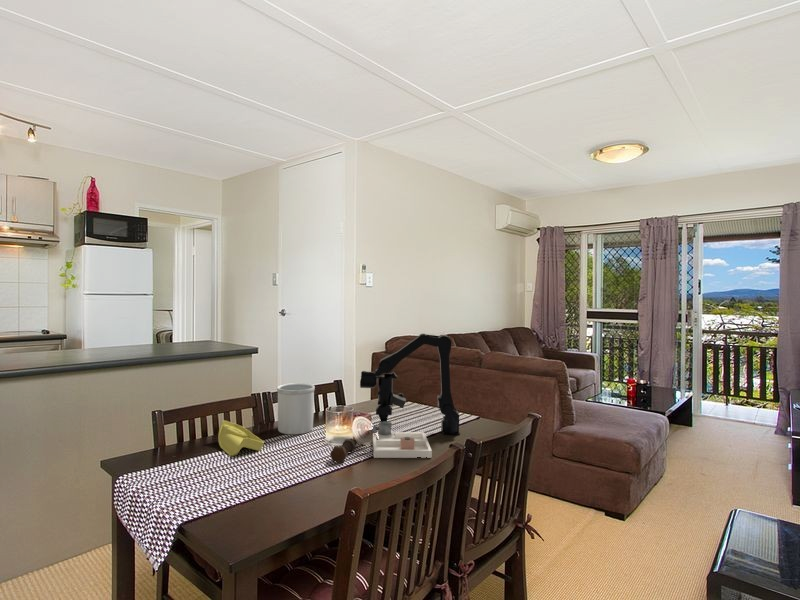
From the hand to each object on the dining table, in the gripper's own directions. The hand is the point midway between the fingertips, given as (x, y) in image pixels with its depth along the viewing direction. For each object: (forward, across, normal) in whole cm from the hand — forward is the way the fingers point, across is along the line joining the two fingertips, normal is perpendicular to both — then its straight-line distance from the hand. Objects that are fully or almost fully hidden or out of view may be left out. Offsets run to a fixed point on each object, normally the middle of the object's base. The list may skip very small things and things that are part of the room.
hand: (384, 426), depth 190 cm
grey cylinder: (+1, -6, 0) cm, 6 cm away
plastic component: (+2, -24, +51) cm, 56 cm away
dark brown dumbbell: (+2, -29, +12) cm, 31 cm away
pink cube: (+1, -24, -9) cm, 26 cm away
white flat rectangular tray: (+2, -16, -7) cm, 17 cm away
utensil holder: (+2, -3, +36) cm, 36 cm away
